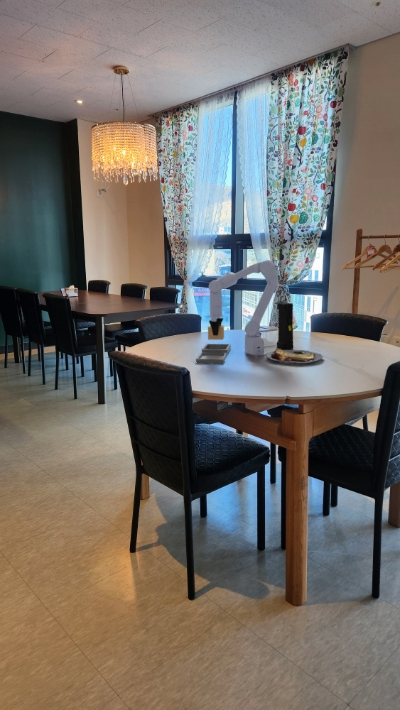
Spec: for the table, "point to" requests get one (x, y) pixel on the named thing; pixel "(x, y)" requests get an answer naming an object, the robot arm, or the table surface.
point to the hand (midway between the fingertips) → (216, 334)
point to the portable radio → (285, 326)
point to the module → (216, 337)
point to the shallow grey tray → (211, 358)
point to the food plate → (293, 356)
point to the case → (217, 348)
